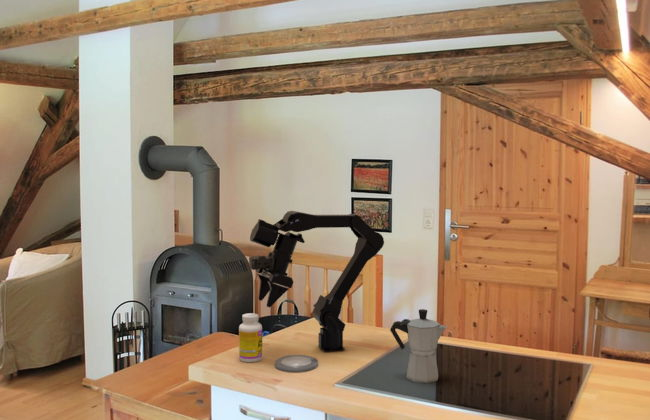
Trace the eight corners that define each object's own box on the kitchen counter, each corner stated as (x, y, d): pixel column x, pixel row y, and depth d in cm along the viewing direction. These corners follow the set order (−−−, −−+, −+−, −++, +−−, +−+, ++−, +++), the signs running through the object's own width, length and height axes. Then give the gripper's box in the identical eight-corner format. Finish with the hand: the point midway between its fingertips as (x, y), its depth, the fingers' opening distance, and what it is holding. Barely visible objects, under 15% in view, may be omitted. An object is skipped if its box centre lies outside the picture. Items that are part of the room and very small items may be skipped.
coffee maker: (448, 373, 165) (449, 307, 163) (445, 385, 156) (446, 315, 155) (392, 368, 169) (392, 304, 167) (387, 380, 160) (387, 311, 159)
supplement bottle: (261, 363, 174) (260, 318, 173) (237, 363, 174) (236, 318, 173) (263, 355, 180) (263, 312, 179) (241, 355, 181) (240, 312, 180)
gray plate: (310, 356, 180) (310, 352, 179) (323, 369, 168) (323, 365, 168) (270, 360, 176) (270, 356, 176) (280, 374, 165) (280, 370, 164)
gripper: (249, 239, 185) (231, 289, 184) (265, 247, 168) (245, 302, 167) (283, 251, 189) (265, 300, 188) (302, 260, 172) (282, 313, 171)
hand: (264, 303), depth 178 cm, fingers open, 9 cm apart
